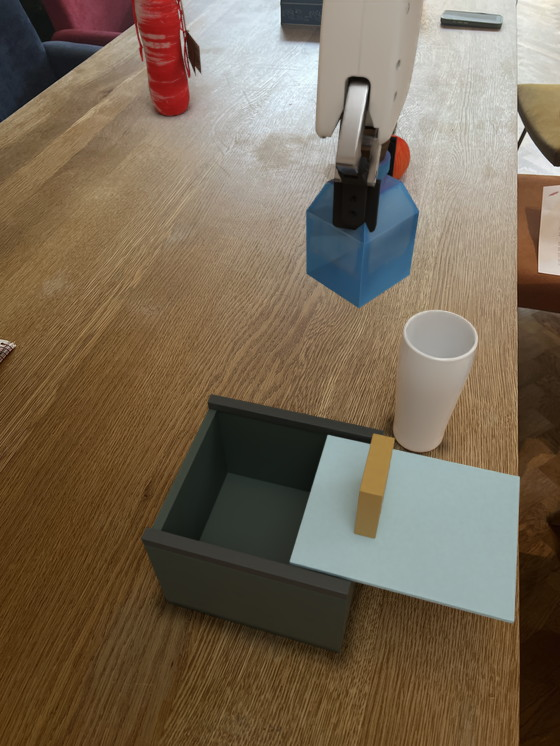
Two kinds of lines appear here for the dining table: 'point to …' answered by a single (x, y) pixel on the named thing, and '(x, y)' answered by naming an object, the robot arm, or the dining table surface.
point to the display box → (250, 523)
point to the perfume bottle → (363, 240)
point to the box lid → (413, 526)
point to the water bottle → (166, 53)
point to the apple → (401, 157)
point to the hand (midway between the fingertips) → (363, 202)
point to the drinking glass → (431, 376)
